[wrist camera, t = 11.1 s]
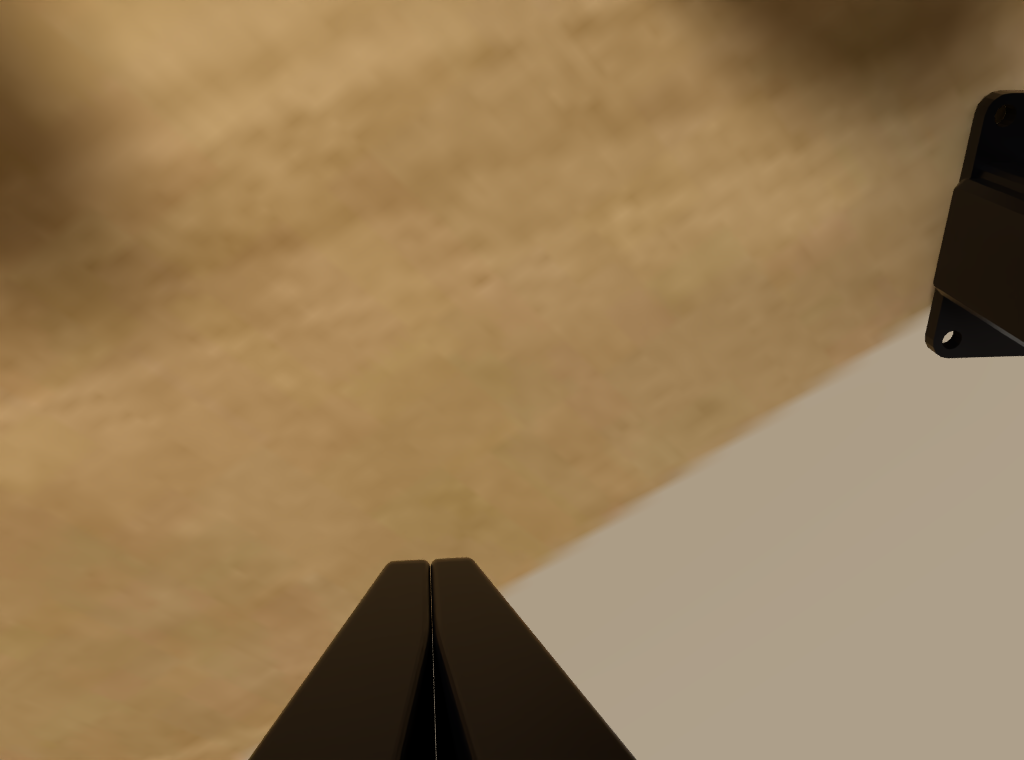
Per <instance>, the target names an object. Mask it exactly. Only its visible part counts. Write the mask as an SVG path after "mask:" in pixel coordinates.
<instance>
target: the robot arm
mask: <svg viewBox="0 0 1024 760" xmlns="http://www.w3.org/2000/svg"><path fill="white" fill-rule="evenodd" d="M1003 105H1005V107H1006V114H1005V116H1004V118H1003V119H1002V120H1001V121H1000V122H999V123H997V124H996V123H995V114H996V112H997V110H998V109H999V108H1000V107H1001V106H1003ZM933 284H934V286H935V287H936V289H935V293H934V297H933V302H932V306H931V311H930V315H929V320H928V324H927V329H926V333H925V342H926V344H927V347H928V348H930V349H931V350H932V351H934V352H935V353H936V354H938V355H939V356H940V357H944V358H968V357H1000V356H1024V90H1000V91H996V92H992V93H990V94H989V95H987V96H985V97H984V98H983V99H982V101H981V102H980V103H979V104H978V106H977V109H976V111H975V114H974V118H973V123H972V127H971V132H970V136H969V141H968V145H967V150H966V154H965V159H964V163H963V168H962V172H961V177H960V181H959V184H958V185H957V186H956V187H955V189H954V191H953V196H952V200H951V205H950V209H949V214H948V218H947V223H946V227H945V232H944V236H943V241H942V245H941V250H940V254H939V259H938V263H937V268H936V272H935V277H934V282H933ZM951 331H953V335H952V337H951V339H950V340H949V341H947V342H945V343H942V340H943V338H944V336H945V335H946V334H947V333H948V332H951ZM431 599H432V612H431ZM432 632H433V644H432ZM433 664H434V677H433ZM434 696H435V711H434ZM435 727H436V744H435ZM436 755H437V756H436ZM436 757H437V758H436ZM436 759H437V760H636V759H635V757H634V756H633V755H632V754H631V752H630V751H629V750H628V749H627V748H626V746H625V745H624V744H623V743H622V741H620V739H619V738H618V737H617V735H616V734H615V733H614V732H613V731H612V729H611V728H610V727H609V726H608V724H607V723H606V722H605V721H604V719H603V718H602V717H601V716H600V715H599V713H598V712H597V711H596V710H595V708H594V707H593V706H592V705H591V704H590V702H589V701H588V700H587V699H586V697H585V696H584V695H583V694H582V693H581V691H580V690H579V689H578V688H577V686H576V685H575V684H574V683H573V682H572V680H571V679H570V678H569V677H568V675H567V674H566V673H565V672H564V670H563V669H562V668H561V667H560V666H559V664H558V663H557V662H556V661H555V659H554V658H553V657H552V656H551V655H550V653H549V652H548V651H547V650H546V649H545V647H544V646H543V645H542V644H541V642H540V641H539V640H538V639H537V638H536V636H535V635H534V634H533V633H532V631H531V630H530V629H529V628H528V627H527V625H526V624H525V623H524V622H523V620H522V619H521V618H520V617H519V616H518V614H517V613H516V612H515V611H514V609H513V608H512V607H511V606H510V605H509V603H508V602H507V601H506V600H505V598H504V597H503V596H502V595H501V593H500V592H499V591H498V590H497V589H496V587H495V586H494V585H493V584H492V582H491V581H490V580H489V579H488V578H487V576H486V575H485V574H484V573H483V571H482V570H481V569H480V568H479V567H478V565H477V564H476V563H475V562H474V561H473V560H472V559H470V558H467V557H465V558H446V559H435V560H434V561H433V562H432V563H431V581H430V564H429V563H428V562H427V561H426V560H405V561H392V562H390V563H388V564H387V565H386V566H385V568H384V569H383V570H382V572H381V573H380V575H379V576H378V577H377V579H376V580H375V582H374V583H373V584H372V586H371V587H370V589H369V590H368V592H367V593H366V594H365V596H364V597H363V599H362V600H361V601H360V603H359V604H358V606H357V607H356V608H355V610H354V611H353V613H352V614H351V616H350V617H349V618H348V620H347V621H346V623H345V624H344V625H343V627H342V628H341V630H340V631H339V632H338V634H337V635H336V637H335V638H334V639H333V641H332V642H331V644H330V645H329V647H328V648H327V649H326V651H325V652H324V654H323V655H322V656H321V658H320V659H319V661H318V662H317V663H316V665H315V666H314V668H313V669H312V671H311V672H310V673H309V675H308V676H307V678H306V679H305V680H304V682H303V683H302V685H301V686H300V687H299V689H298V690H297V692H296V693H295V695H294V696H293V697H292V699H291V700H290V702H289V703H288V704H287V706H286V707H285V709H284V710H283V711H282V713H281V714H280V716H279V717H278V719H277V720H276V721H275V723H274V724H273V726H272V727H271V728H270V730H269V731H268V733H267V734H266V735H265V737H264V738H263V740H262V741H261V743H260V744H259V745H258V747H257V748H256V750H255V751H254V752H253V754H252V755H251V757H250V758H249V759H248V760H436Z"/></svg>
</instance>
